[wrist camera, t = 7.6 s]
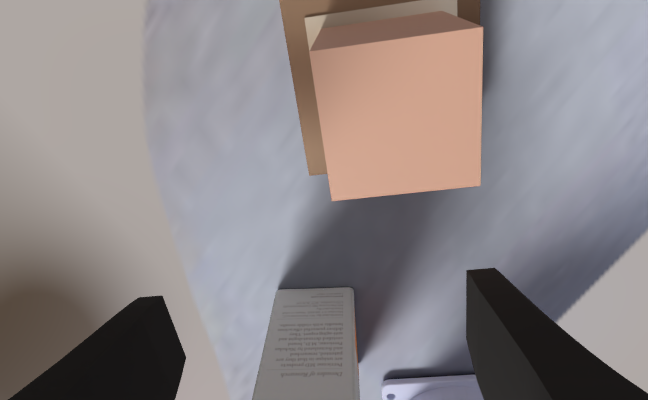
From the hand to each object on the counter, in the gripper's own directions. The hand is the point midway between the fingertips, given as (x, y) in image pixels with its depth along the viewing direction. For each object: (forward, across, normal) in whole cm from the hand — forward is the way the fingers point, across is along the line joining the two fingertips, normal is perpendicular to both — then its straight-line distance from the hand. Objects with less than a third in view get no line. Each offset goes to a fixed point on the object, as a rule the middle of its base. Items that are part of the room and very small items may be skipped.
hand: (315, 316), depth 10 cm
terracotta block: (+8, -2, -4) cm, 9 cm away
